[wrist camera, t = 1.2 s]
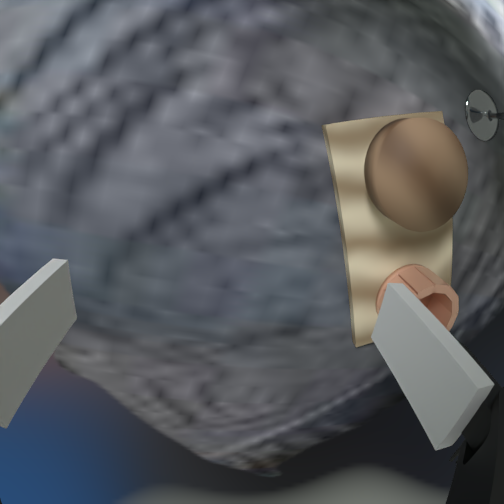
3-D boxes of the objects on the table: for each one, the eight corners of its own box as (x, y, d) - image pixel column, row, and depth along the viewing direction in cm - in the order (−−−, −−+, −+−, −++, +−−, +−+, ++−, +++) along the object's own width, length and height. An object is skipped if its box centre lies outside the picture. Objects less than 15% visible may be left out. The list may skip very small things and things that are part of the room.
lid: (407, 96, 26) (423, 93, 23) (465, 171, 29) (482, 175, 26) (341, 174, 28) (353, 179, 26) (409, 243, 31) (423, 253, 29)
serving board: (321, 125, 31) (325, 125, 30) (435, 111, 30) (442, 111, 29) (352, 341, 41) (355, 347, 40) (442, 310, 40) (448, 315, 39)
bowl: (411, 249, 35) (437, 269, 29) (444, 288, 37) (468, 309, 32) (361, 304, 37) (380, 331, 32) (400, 335, 40) (419, 362, 34)
